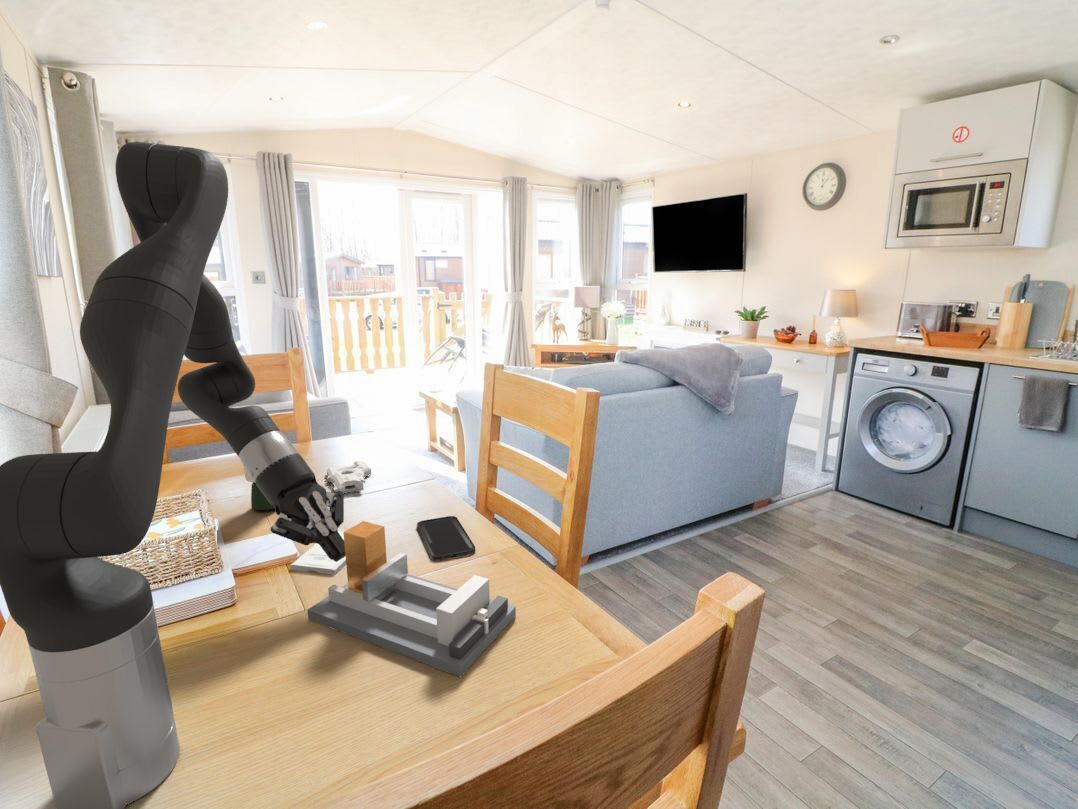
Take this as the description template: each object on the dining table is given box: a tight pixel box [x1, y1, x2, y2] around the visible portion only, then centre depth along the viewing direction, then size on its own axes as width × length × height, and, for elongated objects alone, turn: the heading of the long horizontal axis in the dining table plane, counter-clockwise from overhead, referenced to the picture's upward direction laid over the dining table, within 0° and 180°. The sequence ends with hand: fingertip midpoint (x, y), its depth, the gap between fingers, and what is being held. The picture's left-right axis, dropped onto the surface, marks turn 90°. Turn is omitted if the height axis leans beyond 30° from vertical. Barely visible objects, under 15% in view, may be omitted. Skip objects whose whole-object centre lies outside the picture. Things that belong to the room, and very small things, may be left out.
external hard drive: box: [289, 530, 346, 576], centre depth 99 cm, size 2×8×12 cm
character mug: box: [243, 467, 275, 511], centre depth 116 cm, size 11×7×13 cm, turn 32°
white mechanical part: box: [326, 460, 372, 494], centre depth 132 cm, size 18×4×10 cm
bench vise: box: [307, 573, 517, 677], centre depth 81 cm, size 26×14×6 cm, turn 63°
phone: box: [416, 515, 476, 562], centre depth 105 cm, size 8×1×15 cm
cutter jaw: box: [341, 520, 409, 602], centre depth 83 cm, size 7×8×10 cm
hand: (342, 557), depth 85 cm, fingers closed
